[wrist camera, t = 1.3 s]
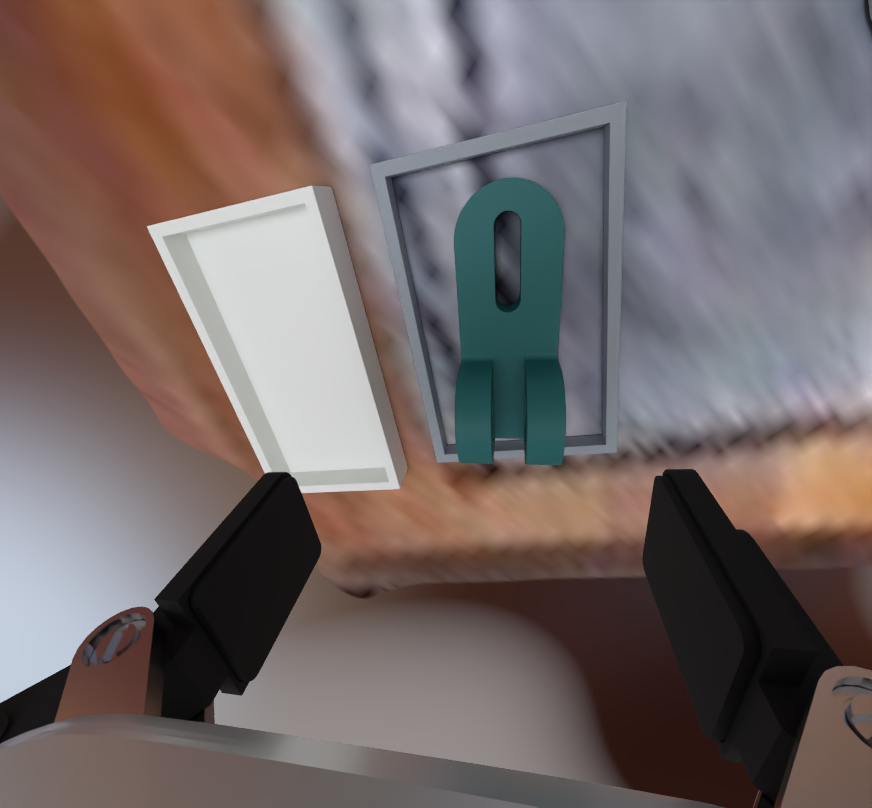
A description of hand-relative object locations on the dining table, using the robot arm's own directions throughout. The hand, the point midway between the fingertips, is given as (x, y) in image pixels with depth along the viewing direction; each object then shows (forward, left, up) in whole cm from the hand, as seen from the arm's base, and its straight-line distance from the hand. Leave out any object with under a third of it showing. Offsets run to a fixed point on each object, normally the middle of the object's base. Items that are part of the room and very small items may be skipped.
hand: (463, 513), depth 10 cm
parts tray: (+16, +2, -21) cm, 26 cm away
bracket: (-1, +1, -21) cm, 21 cm away
